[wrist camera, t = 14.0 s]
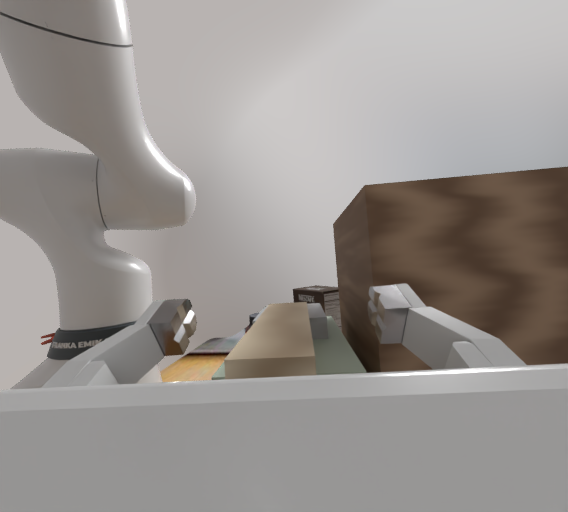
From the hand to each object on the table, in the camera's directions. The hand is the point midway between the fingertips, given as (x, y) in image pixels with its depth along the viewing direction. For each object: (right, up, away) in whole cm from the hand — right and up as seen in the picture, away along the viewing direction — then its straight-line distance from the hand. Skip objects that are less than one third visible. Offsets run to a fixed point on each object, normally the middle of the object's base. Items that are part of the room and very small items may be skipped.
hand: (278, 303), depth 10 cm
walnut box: (+15, -18, +13) cm, 27 cm away
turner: (+1, -6, +9) cm, 10 cm away
